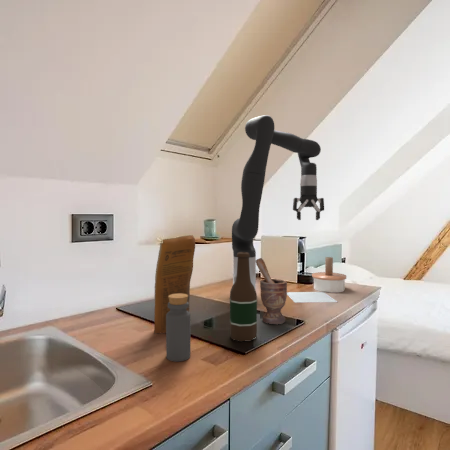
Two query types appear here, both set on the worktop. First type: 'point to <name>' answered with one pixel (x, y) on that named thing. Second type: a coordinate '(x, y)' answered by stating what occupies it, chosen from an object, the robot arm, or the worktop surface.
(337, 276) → the lid
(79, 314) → the worktop surface
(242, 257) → the beer bottle
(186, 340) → the bottle
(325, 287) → the bowl
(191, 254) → the pancake mix bag
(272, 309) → the mortar and pestle
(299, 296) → the mat
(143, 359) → the worktop surface
